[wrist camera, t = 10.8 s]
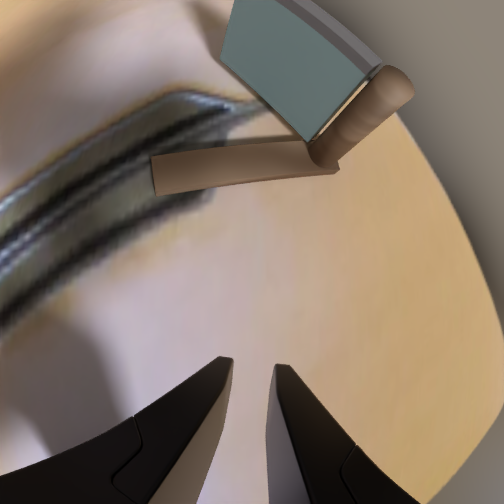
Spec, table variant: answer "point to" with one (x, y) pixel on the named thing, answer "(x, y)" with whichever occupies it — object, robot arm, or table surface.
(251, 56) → the panel
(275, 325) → the table surface
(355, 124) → the brown l-shaped piece
